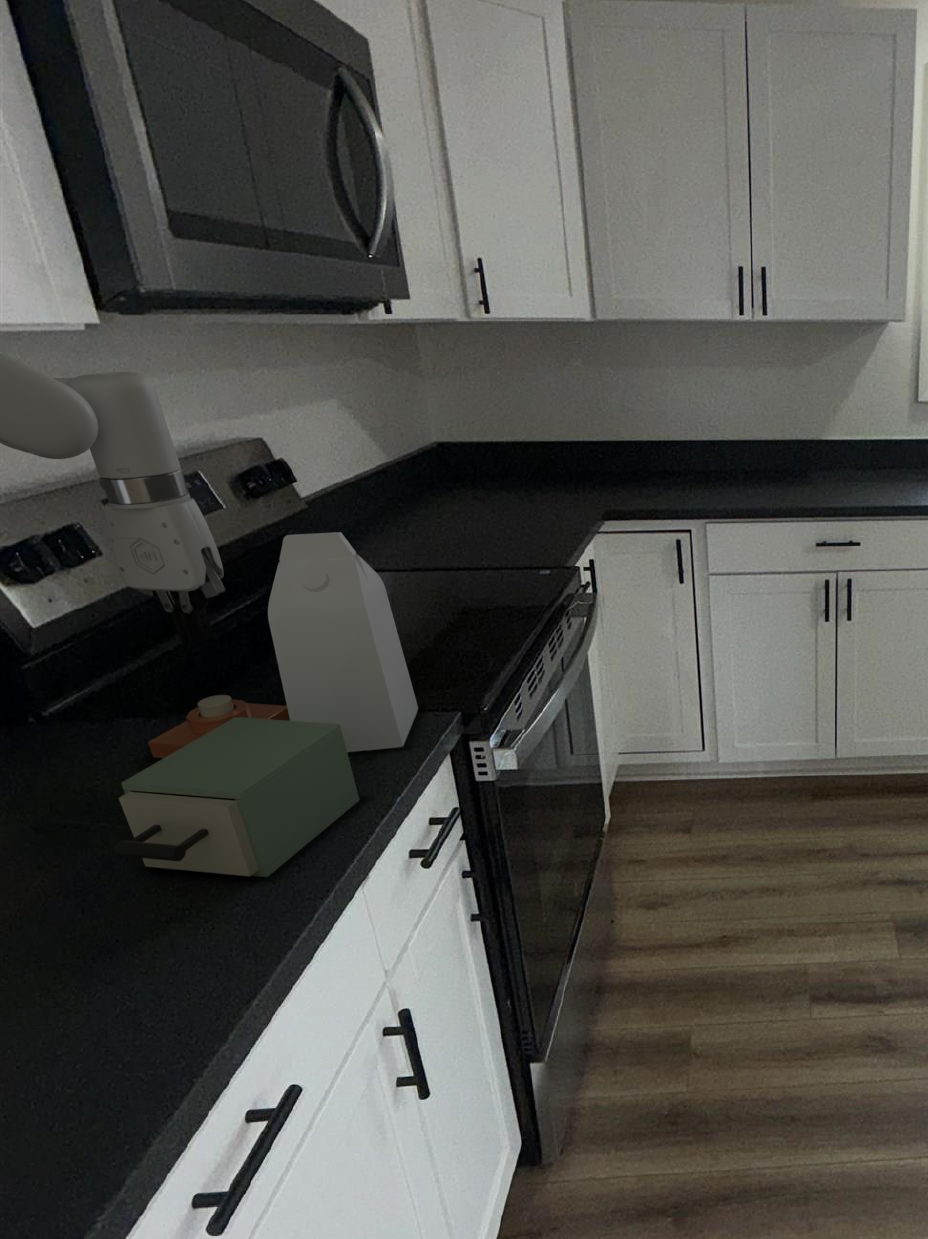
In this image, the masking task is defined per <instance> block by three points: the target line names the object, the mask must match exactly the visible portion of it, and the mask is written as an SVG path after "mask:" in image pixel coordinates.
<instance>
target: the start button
mask: <svg viewBox="0 0 928 1239" xmlns="http://www.w3.org/2000/svg"><path fill="white" fill-rule="evenodd" d="M232 700H233V699H232V697H231V696H230V695H228V694H216V695H212V696H207V697H205V698H202V699H201V700H199V701H198V702H197V707H198V708H199V711H200V714H201V717H202V718H211V717H218V716H222V715H225V714H228V713H230V712H232V711H234V710H235V708H234V705H233V702H232Z"/></svg>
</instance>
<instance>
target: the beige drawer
mask: <svg viewBox="0 0 928 1239" xmlns="http://www.w3.org/2000/svg"><path fill="white" fill-rule="evenodd" d="M118 800H119V803H120V806H121V808H122V811H123V813H124V816H125V818H126V821H127V823H128V827H129V828H130V831H131V833H132V836H133V838H131V839H130V840H124V839H123V840H120V841H118V842H117V843H115V845H114V848H113V852H114V854H115V855H116V856H118V857H126V858H136V859H142V862H143V865H144V866H145V867H146V868H147V867H148V868H157V869H167V870H177V871H178V870H180V871H189V872H200V873H211V874H221V875H232V876H242V877H252V876H251V875H253V874H254V873H255V872H256V871H258V870H259V868H258V865H257V861H256V858H255V855H254V852H253V849H252V846H251V843H250V840H249V837H248V834H247V831H246V828H245V825H244V822H243V819H242V816H241V813H240V810H239V807H238V804H237V801H235V799H228V798H216V797H204V796H192V795H180V794H168V793H156V792H150V794H149V793H137V792H128V793H126V794H125V793H124V794H123V795H121V796H119V797H118Z"/></svg>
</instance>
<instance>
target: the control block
mask: <svg viewBox="0 0 928 1239" xmlns="http://www.w3.org/2000/svg"><path fill="white" fill-rule="evenodd" d="M232 702H233V705H234V708H235V710H234V711H232V712H230V713H228V714H225V715H222V716H218V717H211V718H202V717H201V714H200V711H199V708H198V706H197V707H195V708H193V709H192V710H190V711H188V713H187V715H186V717H185V719H186V720H185V721H184V722H182V723H180V724H179V725H176V726H174V727H173V728H171V729H169V730H167V731H166V732H163V733H162V734H160V735H158V736H156V737H154V738H152V739H150V740H149V741H147V744H148V747H149V750H150V752H151V755H152V757H153V758H155V759H163V758H165V757H167V756H169V755H170V754H172V753H174V752H176V751H177V750H179V749H181V748H182V747H184V746H186V745H188V744H189V743H191V742H193V741H195V740H196V739H198V738H200V737H201V736H203V735H205V734H207V733H208V732H210V731H212V730H214V729H215V728H217V727H219V726H221V725H222V724H224V723H226V722H227V721H229V720H231V719H233V718H234V717H242V718H256V719H270V720H285V721H290V718H289V713H288V708H287V705H281V704H280V705H279V704H268V703H267V704H266V703H265V704H264V703H251V702H246V701H244V700H242V699H232Z"/></svg>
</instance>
